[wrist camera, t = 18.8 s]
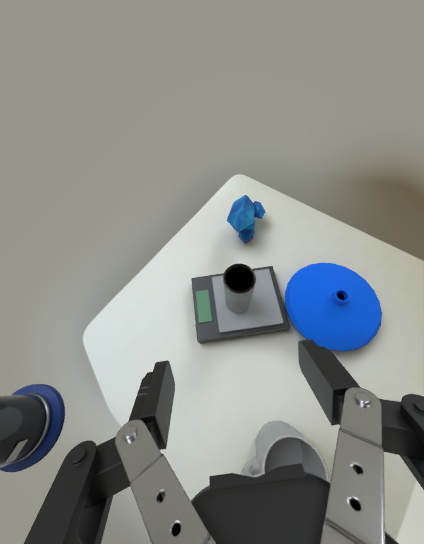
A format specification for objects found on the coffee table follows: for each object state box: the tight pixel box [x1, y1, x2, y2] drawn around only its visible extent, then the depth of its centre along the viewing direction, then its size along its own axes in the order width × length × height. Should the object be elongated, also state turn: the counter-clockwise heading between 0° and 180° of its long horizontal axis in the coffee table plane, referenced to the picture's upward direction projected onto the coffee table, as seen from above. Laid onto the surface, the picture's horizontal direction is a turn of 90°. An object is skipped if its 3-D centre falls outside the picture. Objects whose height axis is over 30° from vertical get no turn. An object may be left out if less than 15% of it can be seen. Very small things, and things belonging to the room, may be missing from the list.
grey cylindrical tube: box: [223, 264, 256, 313], centre depth 35 cm, size 4×4×10 cm
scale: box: [192, 266, 290, 343], centre depth 41 cm, size 16×12×3 cm
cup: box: [241, 421, 329, 482], centre depth 28 cm, size 7×10×9 cm
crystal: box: [227, 195, 265, 243], centre depth 46 cm, size 7×9×12 cm
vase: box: [285, 263, 382, 351], centre depth 37 cm, size 16×16×7 cm
